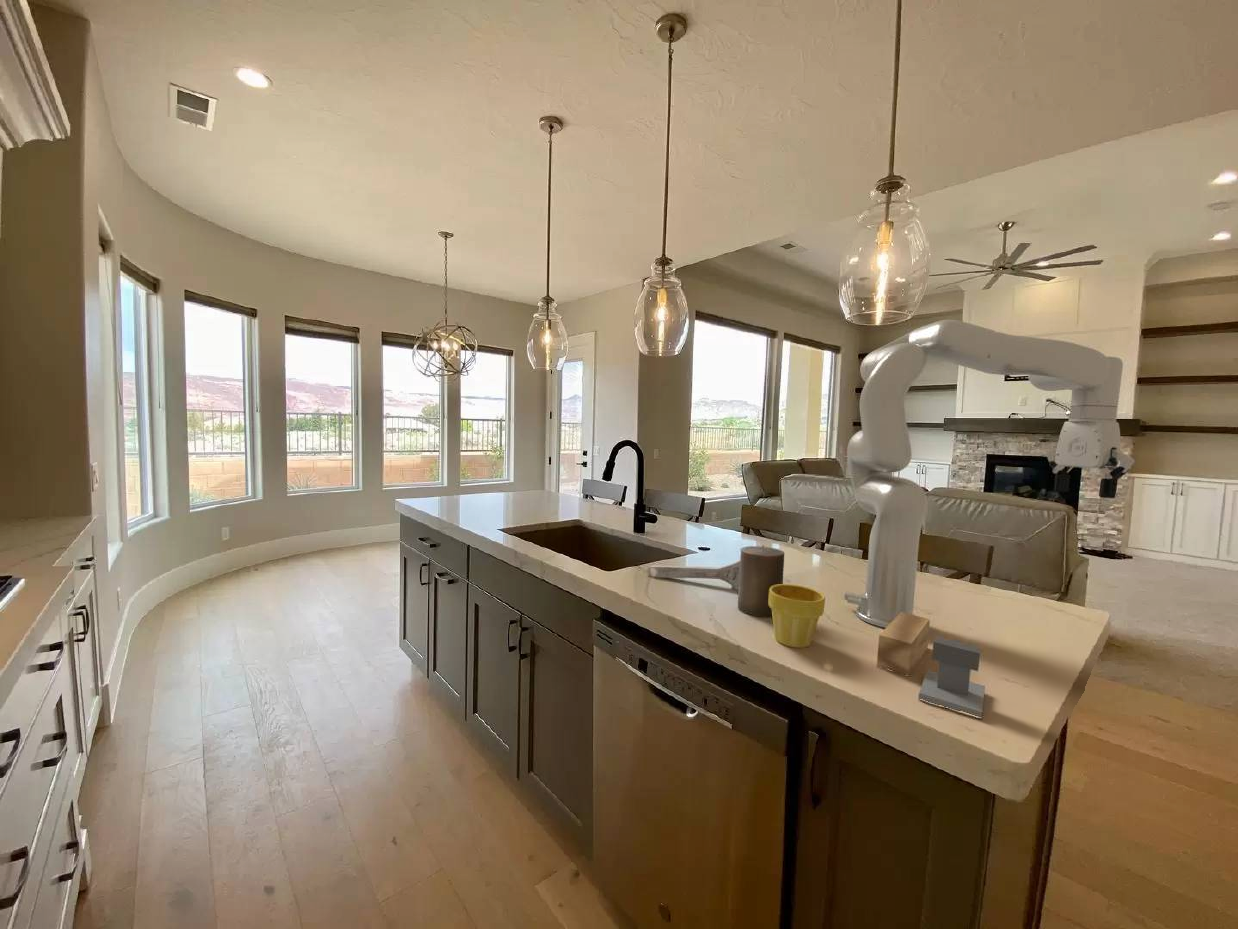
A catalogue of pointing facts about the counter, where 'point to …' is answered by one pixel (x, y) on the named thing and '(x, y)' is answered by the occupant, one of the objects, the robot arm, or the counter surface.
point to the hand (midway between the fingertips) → (1082, 494)
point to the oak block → (903, 643)
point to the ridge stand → (954, 677)
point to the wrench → (700, 572)
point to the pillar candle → (758, 578)
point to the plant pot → (795, 613)
